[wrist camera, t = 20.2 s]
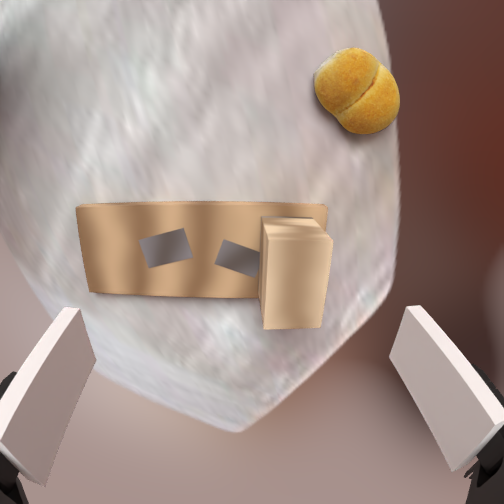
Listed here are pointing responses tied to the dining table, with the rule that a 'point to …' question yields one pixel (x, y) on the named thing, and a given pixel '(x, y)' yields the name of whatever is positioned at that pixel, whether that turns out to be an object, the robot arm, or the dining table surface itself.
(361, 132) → the bread roll
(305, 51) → the dining table surface
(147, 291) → the oak plank
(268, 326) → the block
